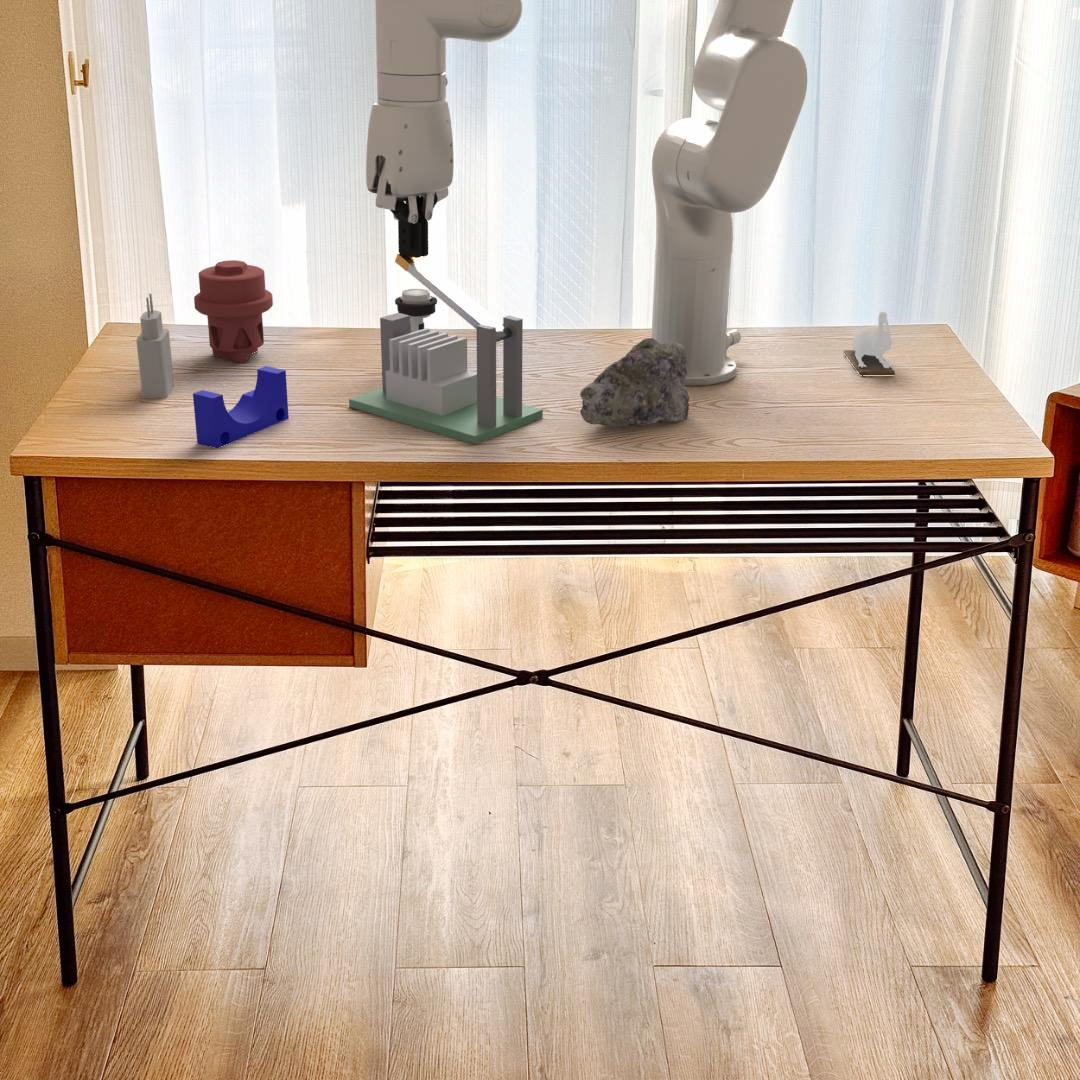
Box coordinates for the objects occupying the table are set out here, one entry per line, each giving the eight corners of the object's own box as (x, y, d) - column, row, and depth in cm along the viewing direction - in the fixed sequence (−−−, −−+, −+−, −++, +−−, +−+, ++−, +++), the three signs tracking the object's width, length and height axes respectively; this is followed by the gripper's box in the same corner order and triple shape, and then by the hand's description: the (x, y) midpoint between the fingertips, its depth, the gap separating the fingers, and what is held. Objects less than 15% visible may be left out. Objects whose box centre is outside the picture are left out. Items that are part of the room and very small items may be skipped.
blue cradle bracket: (259, 412, 173) (255, 363, 171) (288, 419, 171) (285, 370, 169) (187, 442, 164) (182, 391, 161) (217, 450, 162) (213, 398, 159)
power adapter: (141, 398, 177) (130, 301, 172) (149, 384, 182) (140, 289, 177) (167, 398, 177) (157, 301, 172) (175, 384, 182) (166, 289, 177)
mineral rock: (579, 436, 167) (581, 351, 162) (578, 405, 176) (580, 324, 172) (692, 438, 166) (697, 352, 162) (685, 407, 176) (690, 326, 172)
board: (418, 383, 183) (415, 285, 178) (542, 417, 172) (543, 313, 167) (349, 406, 175) (344, 304, 170) (475, 444, 163) (474, 336, 158)
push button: (432, 378, 185) (430, 301, 181) (391, 376, 186) (388, 299, 182) (441, 363, 191) (440, 287, 187) (401, 361, 192) (399, 286, 188)
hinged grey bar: (411, 257, 171) (414, 249, 170) (509, 340, 165) (513, 331, 164) (394, 262, 169) (397, 253, 168) (493, 345, 163) (497, 336, 162)
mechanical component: (183, 358, 192) (239, 341, 200) (236, 372, 187) (292, 354, 194) (174, 265, 187) (232, 251, 195) (229, 277, 182) (286, 262, 189)
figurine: (903, 388, 184) (910, 320, 181) (868, 388, 184) (874, 321, 180) (875, 355, 197) (881, 292, 193) (842, 355, 197) (847, 292, 193)
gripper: (432, 81, 168) (433, 240, 176) (338, 91, 158) (343, 260, 165) (482, 87, 164) (480, 250, 171) (388, 98, 153) (391, 271, 161)
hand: (413, 254), depth 168 cm, fingers closed
